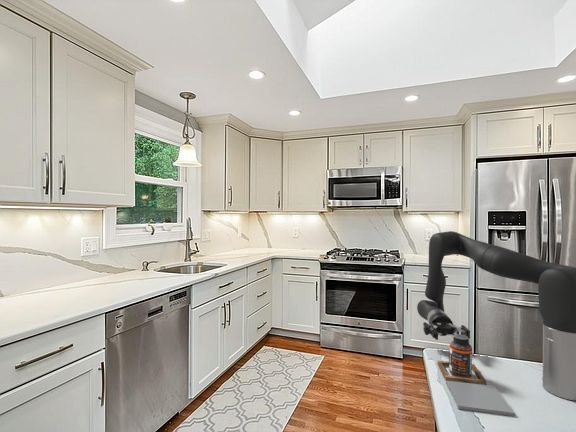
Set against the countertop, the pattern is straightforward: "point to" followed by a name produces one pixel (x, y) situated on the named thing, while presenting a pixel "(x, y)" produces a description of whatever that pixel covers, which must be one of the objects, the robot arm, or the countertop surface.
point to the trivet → (478, 398)
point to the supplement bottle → (460, 356)
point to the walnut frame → (480, 379)
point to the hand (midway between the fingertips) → (451, 338)
